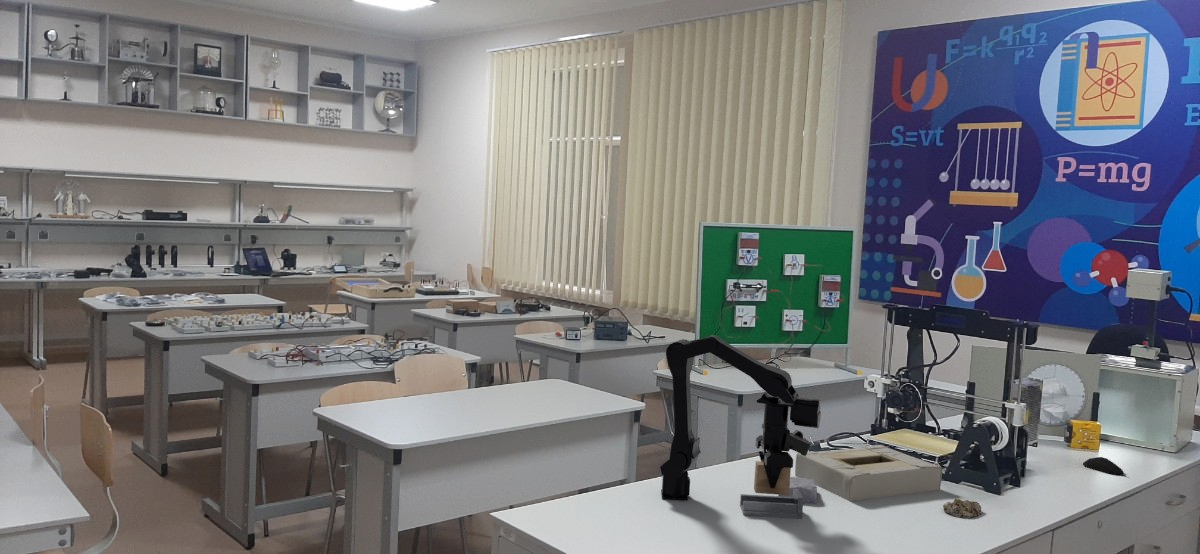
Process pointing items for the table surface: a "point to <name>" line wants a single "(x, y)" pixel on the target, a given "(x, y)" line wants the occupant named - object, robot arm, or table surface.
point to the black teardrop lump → (1103, 466)
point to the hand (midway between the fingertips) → (771, 485)
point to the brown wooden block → (763, 484)
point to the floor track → (772, 505)
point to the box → (868, 472)
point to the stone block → (803, 489)
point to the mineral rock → (962, 508)
